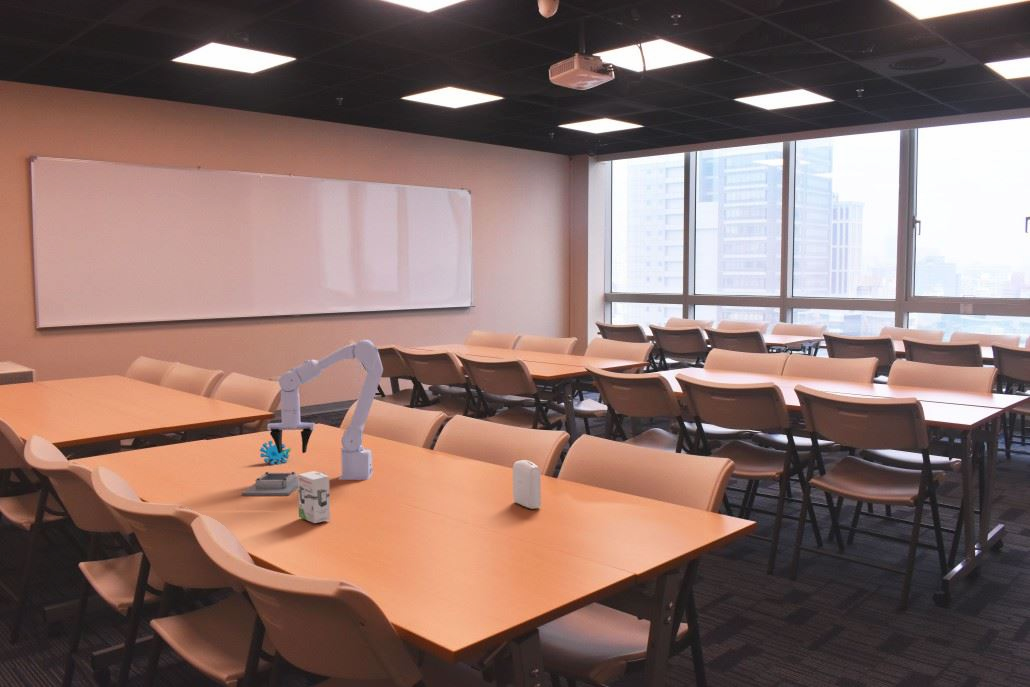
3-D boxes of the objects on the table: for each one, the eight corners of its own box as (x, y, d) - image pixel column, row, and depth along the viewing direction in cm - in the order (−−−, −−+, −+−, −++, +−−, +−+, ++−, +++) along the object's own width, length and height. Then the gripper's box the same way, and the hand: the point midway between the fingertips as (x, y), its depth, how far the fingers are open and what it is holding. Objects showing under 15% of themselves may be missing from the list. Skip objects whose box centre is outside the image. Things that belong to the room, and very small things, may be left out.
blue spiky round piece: (266, 465, 276) (257, 441, 280) (261, 475, 279) (252, 451, 284) (296, 460, 283) (287, 437, 287) (291, 470, 286) (282, 446, 291)
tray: (308, 479, 261) (307, 467, 260) (288, 495, 241) (288, 483, 241) (264, 479, 261) (264, 467, 261) (241, 495, 241) (241, 483, 241)
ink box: (297, 517, 219) (296, 473, 218) (314, 513, 222) (313, 470, 221) (314, 523, 213) (313, 478, 212) (331, 519, 216) (330, 475, 215)
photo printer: (511, 501, 232) (510, 458, 231) (524, 499, 234) (523, 456, 233) (529, 510, 223) (529, 465, 222) (543, 508, 225) (542, 463, 224)
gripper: (316, 407, 262) (318, 449, 263) (271, 408, 262) (273, 450, 263) (311, 411, 255) (312, 454, 256) (264, 411, 255) (266, 454, 256)
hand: (292, 452), depth 259 cm, fingers open, 7 cm apart
